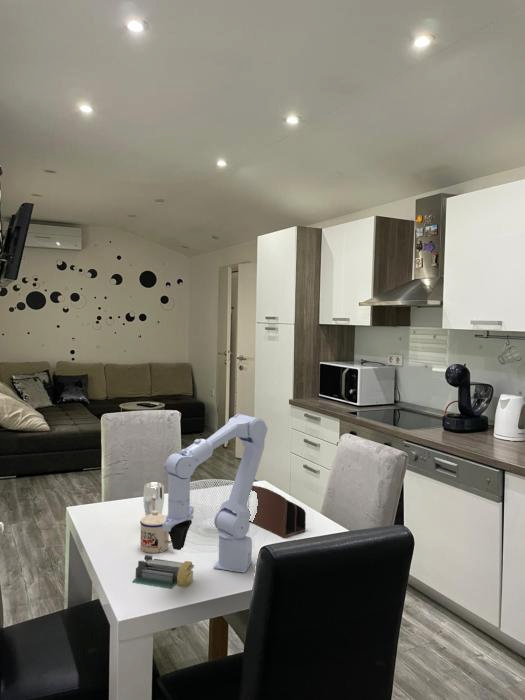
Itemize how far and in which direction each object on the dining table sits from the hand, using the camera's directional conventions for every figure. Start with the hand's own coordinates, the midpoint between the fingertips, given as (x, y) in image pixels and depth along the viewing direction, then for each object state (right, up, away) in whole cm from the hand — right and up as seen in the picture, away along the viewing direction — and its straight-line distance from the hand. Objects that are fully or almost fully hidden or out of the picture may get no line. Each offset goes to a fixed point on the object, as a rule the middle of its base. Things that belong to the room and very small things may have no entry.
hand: (178, 548), depth 150 cm
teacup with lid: (-10, -9, +23) cm, 26 cm away
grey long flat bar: (-3, -6, +4) cm, 8 cm away
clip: (+2, -10, +1) cm, 10 cm away
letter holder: (+27, -9, +44) cm, 53 cm away
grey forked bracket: (-10, -9, +6) cm, 15 cm away
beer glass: (-15, -8, +40) cm, 43 cm away
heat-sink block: (-5, -9, +4) cm, 11 cm away
